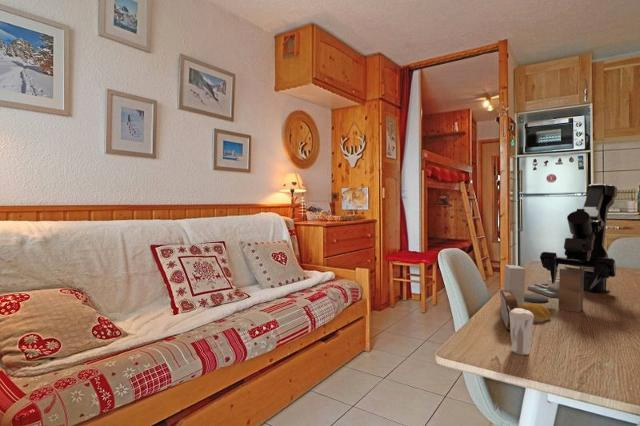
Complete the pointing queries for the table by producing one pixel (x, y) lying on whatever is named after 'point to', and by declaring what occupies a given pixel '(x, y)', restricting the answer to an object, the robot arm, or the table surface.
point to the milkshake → (520, 330)
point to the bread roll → (537, 311)
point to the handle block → (571, 289)
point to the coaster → (535, 298)
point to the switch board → (544, 289)
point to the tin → (506, 301)
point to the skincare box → (515, 281)
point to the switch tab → (555, 285)
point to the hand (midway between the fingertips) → (570, 285)
